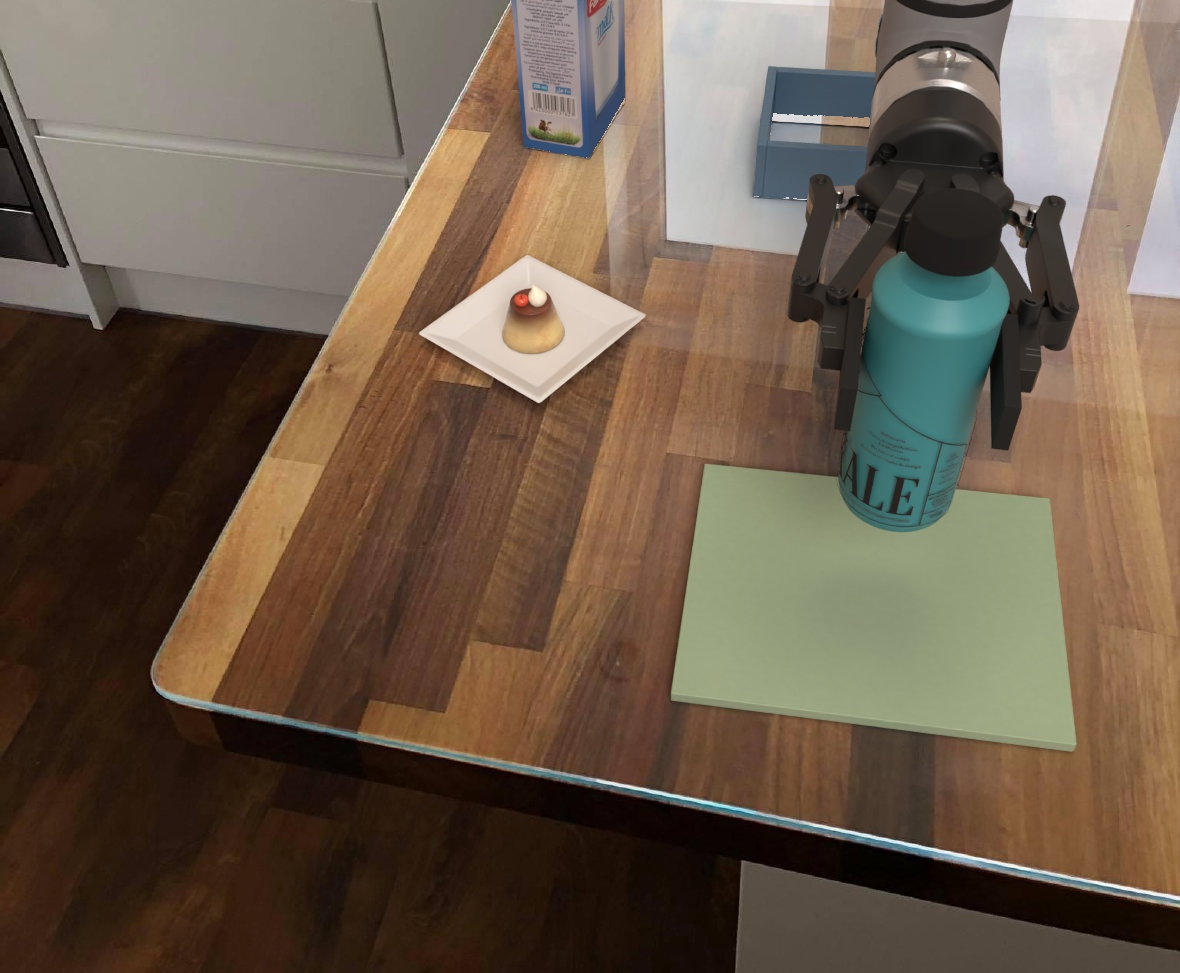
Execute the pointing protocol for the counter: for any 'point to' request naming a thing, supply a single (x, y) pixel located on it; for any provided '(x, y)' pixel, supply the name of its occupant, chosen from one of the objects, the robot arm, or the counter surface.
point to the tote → (794, 163)
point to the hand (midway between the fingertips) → (925, 418)
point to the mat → (875, 612)
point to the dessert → (532, 327)
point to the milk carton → (569, 71)
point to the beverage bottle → (924, 363)
